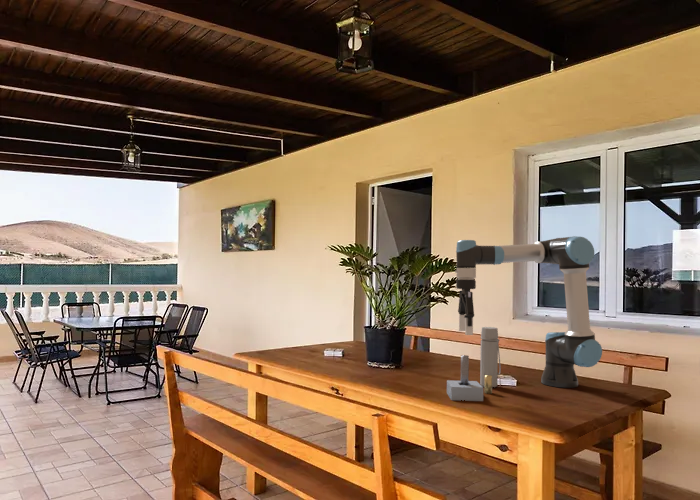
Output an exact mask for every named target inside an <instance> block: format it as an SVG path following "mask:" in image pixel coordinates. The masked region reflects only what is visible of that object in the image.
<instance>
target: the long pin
mask: <svg viewBox="0 0 700 500" xmlns="http://www.w3.org/2000/svg"><path fill="white" fill-rule="evenodd" d="M469 361H470V357H469V354H468V355H467V354H464V355H463V354H461V355H460V381H461V385H468V381H469V378H470V377H469V366H470V365H469V364H470V363H469Z"/></svg>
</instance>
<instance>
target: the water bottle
mask: <svg viewBox="0 0 700 500" xmlns="http://www.w3.org/2000/svg"><path fill="white" fill-rule="evenodd" d="M480 331H481V332H480V337H479V338H480V364H479V366H480V370H479V371H480V376H479V378H480V380H479V382H480V383H479V384H480V385H481V386H482V387H483V388H484V377H485V375H492V389H493V387H494V388H496V387H497V386H498V377H499V375H501V370H502V369H501V368H502V367H501V357H500V348H499V345H500V344H499V342H500V339H499V332H498V331H499V330H498V328H497V327H494V326H493V327H492V326H484V327H483V326H482V327H481V330H480ZM498 366H499V367H498ZM498 368H499V370H498ZM498 371H499V372H498Z"/></svg>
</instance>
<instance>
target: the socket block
mask: <svg viewBox="0 0 700 500" xmlns="http://www.w3.org/2000/svg"><path fill="white" fill-rule="evenodd" d="M446 395H447V396H448V397H449V399H450V400H451V401H461V400H462V401H463V402H464V400H465V402H466V401H467V402H484V387H483V386H481V384H480V383H479V382H478V381H477V380H468V385H461V380H450V379H448V380H446Z"/></svg>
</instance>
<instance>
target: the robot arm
mask: <svg viewBox="0 0 700 500" xmlns="http://www.w3.org/2000/svg"><path fill="white" fill-rule="evenodd" d="M455 248H456V251H455V253H456V270H454V273H455V274H456V275H455V276H456V278H457V279H456V280H455V282H456V283H455V284H456V285H455V288H456V289H458V290H459V300H458V309H457V312H458V314H459V316H458V331H459V332H465V335H466V336H473V335H474V317H475V310H474V298H473V294H474V293H473V291H471V290H475V289H476V287H477V285H476V283H477V282H476V278H477V267H476V266H477V265H483V266H484V265H494V266H495V265H501V264H509V263H523V262H534V263H535V264H550V265H558V266H559V267H558V268H559V271H561V272H562V273H563V282H564V295H565V307H566V318H567V319H566V321H567V322H566V323H567V330H566V331H561V332H559V331H558V332H557V331H555V332H553V331H552V332H550V331H549V332H547V333H546V335H545V340H544V342H545V366H544V368H543V372H542V375H541V380H540V381H541V382H540V383H542V384H543V385H545V386H549V387H556V388H577V387H579V379H578V377H577V373H576V371H575V366H577V367H581V368H593V367H594V366H596V365H597V364H598V362H600V360H601V359H602V356H603V347H602V345H601V344H600V343H599V342H598V341H597V340H596V334H595V333H594V331H593V330H592V329H591V323H590V321H591V320H590V311H589V310H590V307H589V296H588V283H587V271H588V270H589V269H590V263H591V262H592V261H593V259H594V258H595V248H594V246H593V243H592V242H591V241H590V240H589V239H588V238H586V237H583V236H576V235H575V236H574V235H573V236H567V237H556V238H551V239H547V240H542V241H541V240H540V241H538V240H537V241H534V242H533V243H527V244H509V245H508V244H506V245H505V244H504V245H478V244H477V241H476V240H474V239H460V240H457V242H456V247H455Z"/></svg>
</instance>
